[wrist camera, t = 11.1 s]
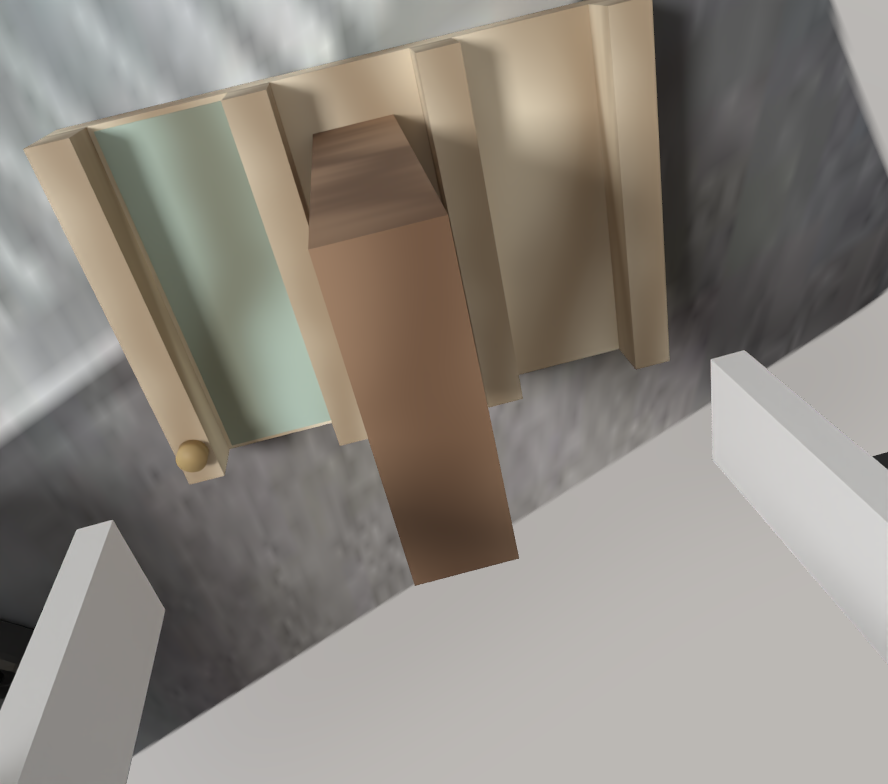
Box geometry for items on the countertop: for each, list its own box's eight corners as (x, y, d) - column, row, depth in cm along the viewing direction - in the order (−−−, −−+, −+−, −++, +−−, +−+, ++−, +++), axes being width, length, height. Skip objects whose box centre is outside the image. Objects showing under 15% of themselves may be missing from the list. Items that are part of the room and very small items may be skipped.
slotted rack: (201, 438, 33) (187, 493, 30) (57, 129, 26) (16, 153, 23) (638, 326, 34) (675, 367, 30) (614, -7, 27) (659, -5, 23)
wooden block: (379, 369, 31) (413, 586, 20) (311, 134, 26) (305, 249, 15) (449, 351, 31) (520, 557, 20) (394, 114, 26) (450, 214, 15)
